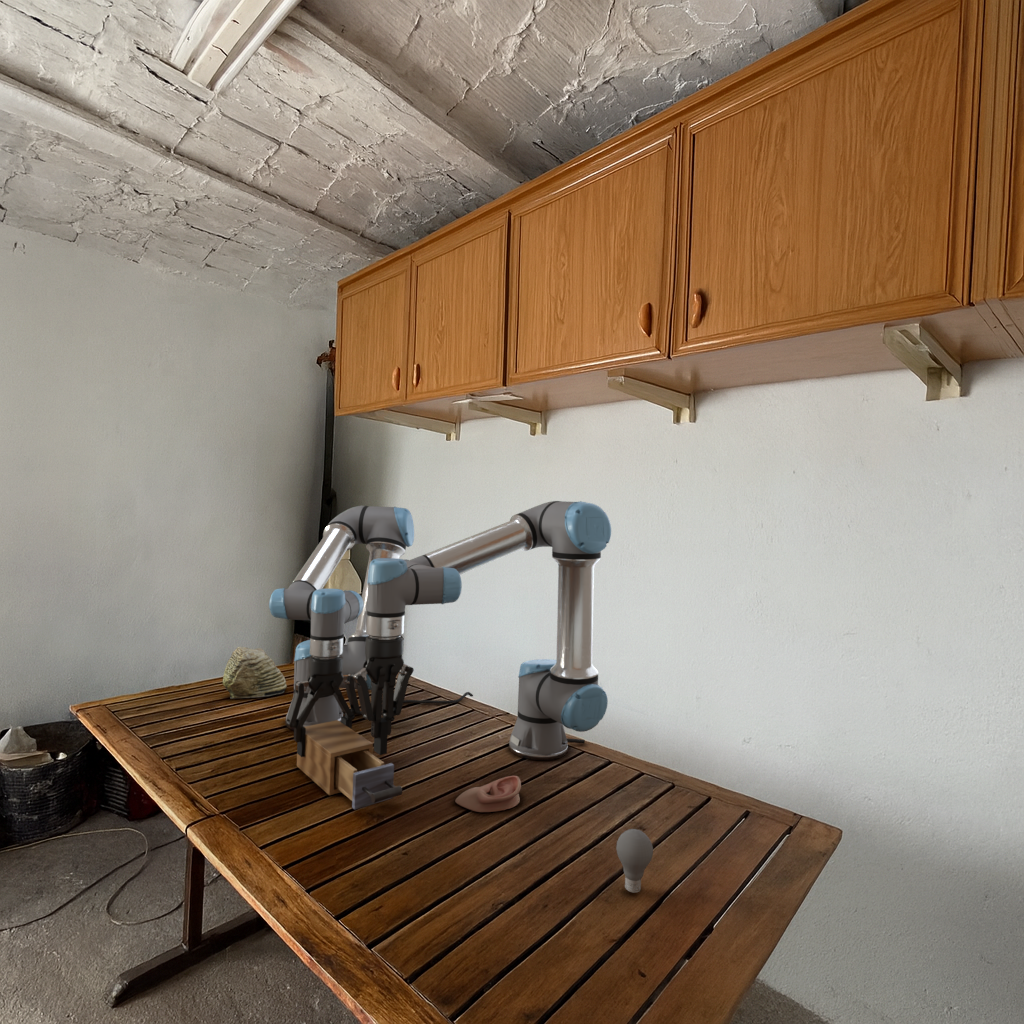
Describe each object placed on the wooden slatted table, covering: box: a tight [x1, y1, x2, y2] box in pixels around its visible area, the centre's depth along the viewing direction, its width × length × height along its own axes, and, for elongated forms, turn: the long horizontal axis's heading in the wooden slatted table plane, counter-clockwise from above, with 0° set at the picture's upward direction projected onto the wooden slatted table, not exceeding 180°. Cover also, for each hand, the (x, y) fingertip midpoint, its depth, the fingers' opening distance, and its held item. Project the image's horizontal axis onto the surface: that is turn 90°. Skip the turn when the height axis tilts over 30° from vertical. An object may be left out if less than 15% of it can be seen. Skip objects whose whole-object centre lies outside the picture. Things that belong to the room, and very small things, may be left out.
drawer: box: [334, 750, 403, 811], centre depth 134 cm, size 23×9×7 cm, turn 40°
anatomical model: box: [454, 775, 522, 813], centre depth 135 cm, size 13×4×12 cm
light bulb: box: [615, 828, 654, 894], centre depth 106 cm, size 6×6×10 cm
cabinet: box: [296, 720, 374, 796], centre depth 144 cm, size 18×10×9 cm, turn 40°
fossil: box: [222, 646, 288, 699], centre depth 198 cm, size 9×18×15 cm, turn 132°
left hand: (322, 749), depth 149 cm, fingers closed on cabinet, 10 cm apart
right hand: (380, 752), depth 128 cm, fingers closed
